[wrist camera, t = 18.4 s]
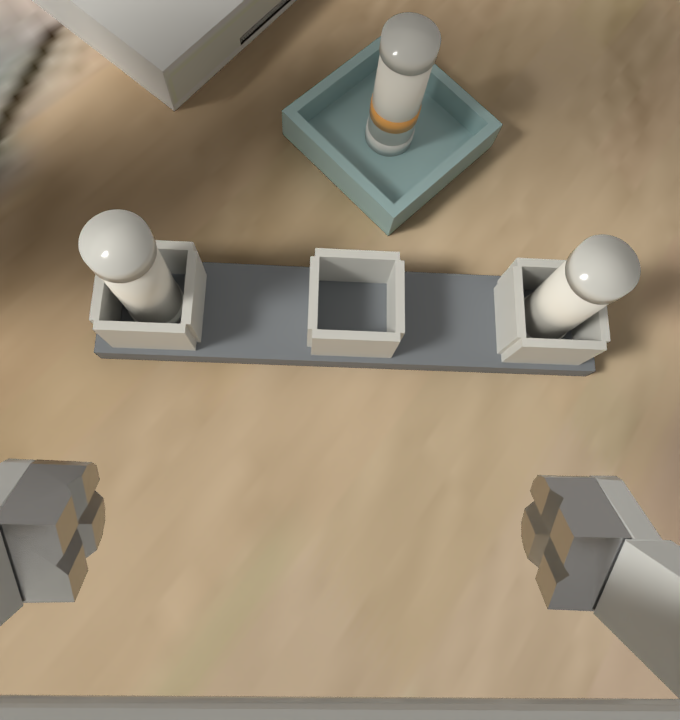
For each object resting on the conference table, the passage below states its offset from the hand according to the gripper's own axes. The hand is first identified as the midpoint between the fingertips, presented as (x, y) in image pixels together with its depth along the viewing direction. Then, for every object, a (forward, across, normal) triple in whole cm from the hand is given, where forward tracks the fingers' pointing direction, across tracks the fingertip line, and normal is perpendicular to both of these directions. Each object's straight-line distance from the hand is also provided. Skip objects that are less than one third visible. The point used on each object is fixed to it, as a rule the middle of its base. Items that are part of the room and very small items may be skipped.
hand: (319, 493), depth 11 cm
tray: (+41, -6, 0) cm, 42 cm away
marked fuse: (+41, -6, 0) cm, 41 cm away
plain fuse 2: (+29, -16, +10) cm, 35 cm away
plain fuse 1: (+29, +11, +10) cm, 33 cm away
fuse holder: (+30, -3, +11) cm, 32 cm away
